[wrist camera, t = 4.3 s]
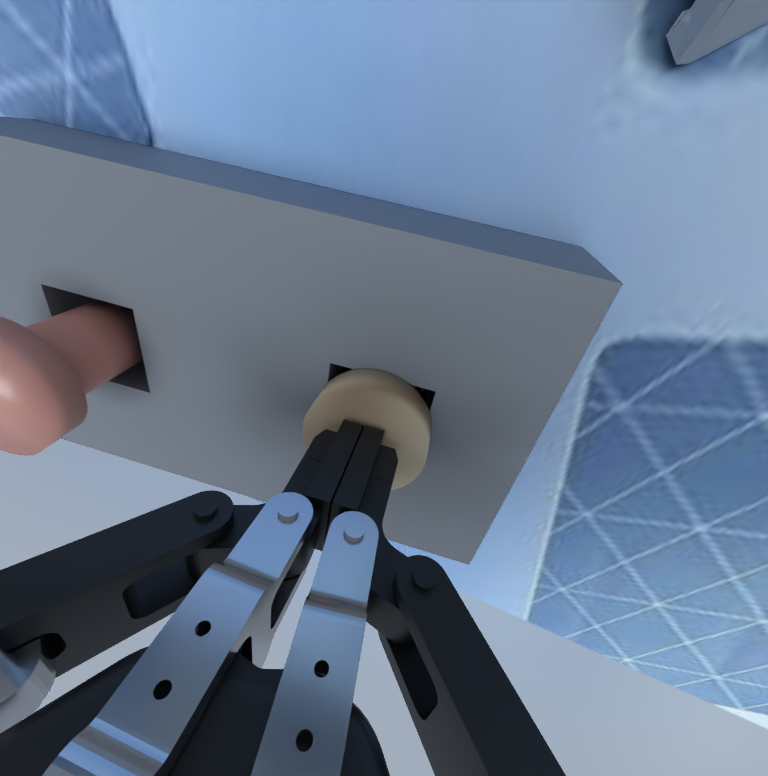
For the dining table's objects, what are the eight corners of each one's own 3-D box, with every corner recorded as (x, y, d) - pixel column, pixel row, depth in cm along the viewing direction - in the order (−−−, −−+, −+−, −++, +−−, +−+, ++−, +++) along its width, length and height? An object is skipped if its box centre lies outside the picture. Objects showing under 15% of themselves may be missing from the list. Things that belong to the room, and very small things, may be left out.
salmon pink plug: (165, 291, 15) (16, 356, 10) (179, 383, 18) (65, 470, 13) (66, 265, 16) (-124, 315, 11) (93, 358, 18) (-50, 434, 13)
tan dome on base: (453, 337, 17) (442, 412, 12) (428, 415, 19) (411, 505, 14) (356, 311, 17) (306, 374, 12) (344, 392, 20) (298, 471, 15)
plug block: (581, 246, 14) (622, 283, 10) (471, 488, 22) (469, 564, 18) (33, 119, 16) (-118, 107, 12) (107, 381, 24) (29, 428, 20)
